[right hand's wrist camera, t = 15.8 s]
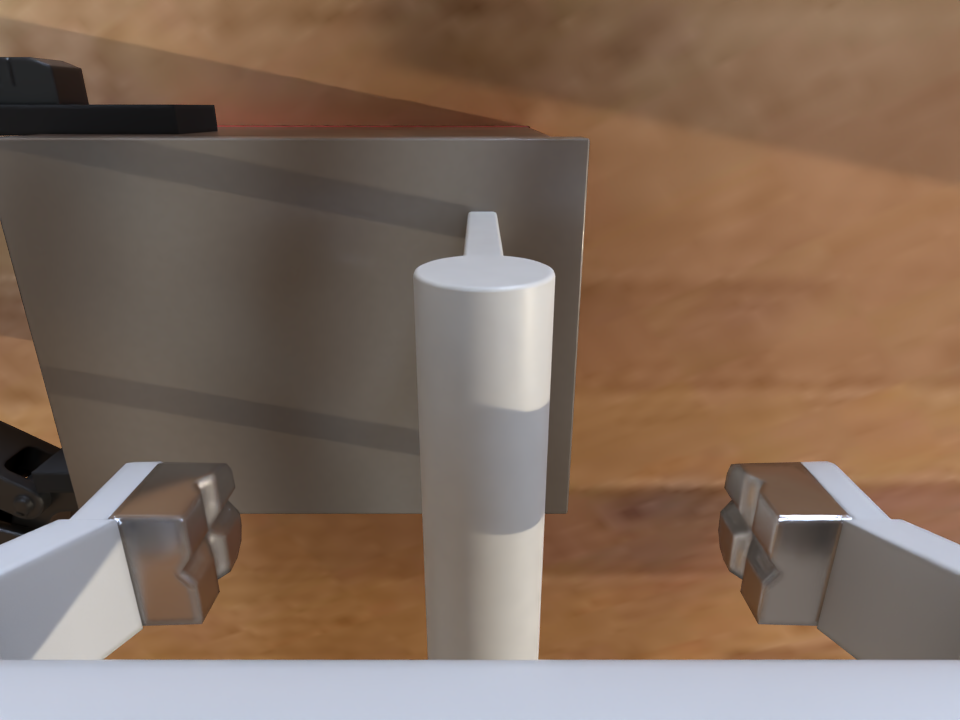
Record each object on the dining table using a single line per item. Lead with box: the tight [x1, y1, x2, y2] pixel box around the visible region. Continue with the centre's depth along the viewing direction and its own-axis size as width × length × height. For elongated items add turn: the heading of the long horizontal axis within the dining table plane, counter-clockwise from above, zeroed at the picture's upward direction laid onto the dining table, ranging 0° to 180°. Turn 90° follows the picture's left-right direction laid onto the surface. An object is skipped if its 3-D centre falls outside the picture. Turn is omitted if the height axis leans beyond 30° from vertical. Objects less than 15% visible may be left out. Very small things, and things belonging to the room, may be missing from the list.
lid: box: [0, 136, 590, 660], centre depth 14 cm, size 14×10×9 cm
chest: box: [23, 126, 550, 137], centre depth 22 cm, size 13×10×9 cm
